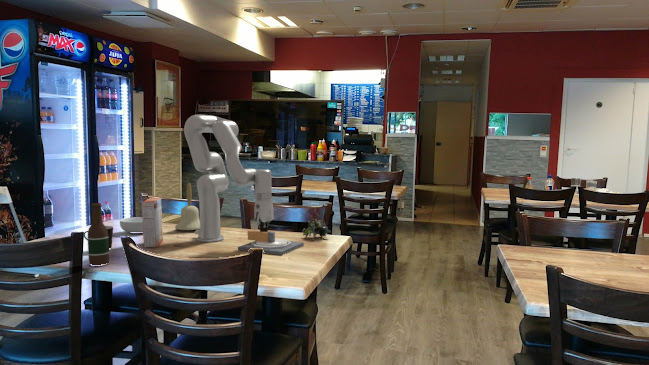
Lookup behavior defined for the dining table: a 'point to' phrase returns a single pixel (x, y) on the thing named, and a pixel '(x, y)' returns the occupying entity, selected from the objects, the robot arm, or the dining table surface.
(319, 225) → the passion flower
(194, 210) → the handbell
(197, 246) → the dining table surface
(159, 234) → the cracker box
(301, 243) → the dial base
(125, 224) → the cereal bowl
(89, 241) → the beer bottle
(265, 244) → the dial
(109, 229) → the coffee mug
